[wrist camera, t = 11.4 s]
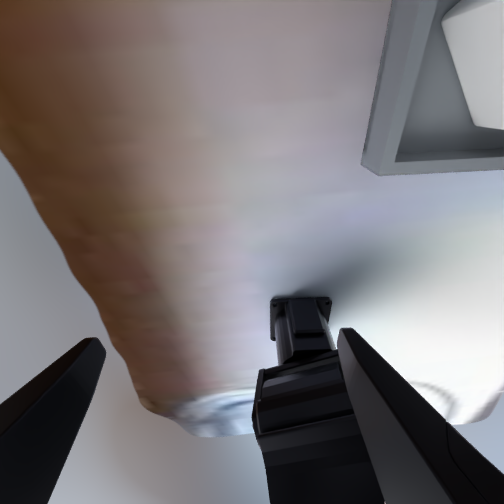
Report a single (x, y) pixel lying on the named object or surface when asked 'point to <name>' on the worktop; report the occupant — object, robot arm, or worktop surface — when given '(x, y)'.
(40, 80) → the worktop surface
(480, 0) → the medicine bottle
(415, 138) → the bin
